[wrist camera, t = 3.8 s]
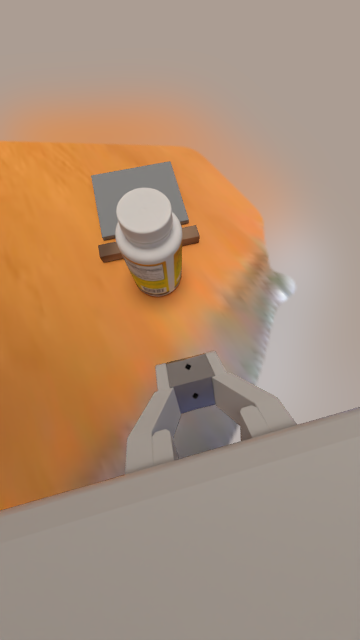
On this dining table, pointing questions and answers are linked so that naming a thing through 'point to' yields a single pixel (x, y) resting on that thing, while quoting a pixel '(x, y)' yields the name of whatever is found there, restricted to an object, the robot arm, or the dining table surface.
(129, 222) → the supplement bottle
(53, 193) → the dining table surface
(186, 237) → the strip
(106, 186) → the felt tile
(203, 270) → the dining table surface
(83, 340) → the dining table surface
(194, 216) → the dining table surface
